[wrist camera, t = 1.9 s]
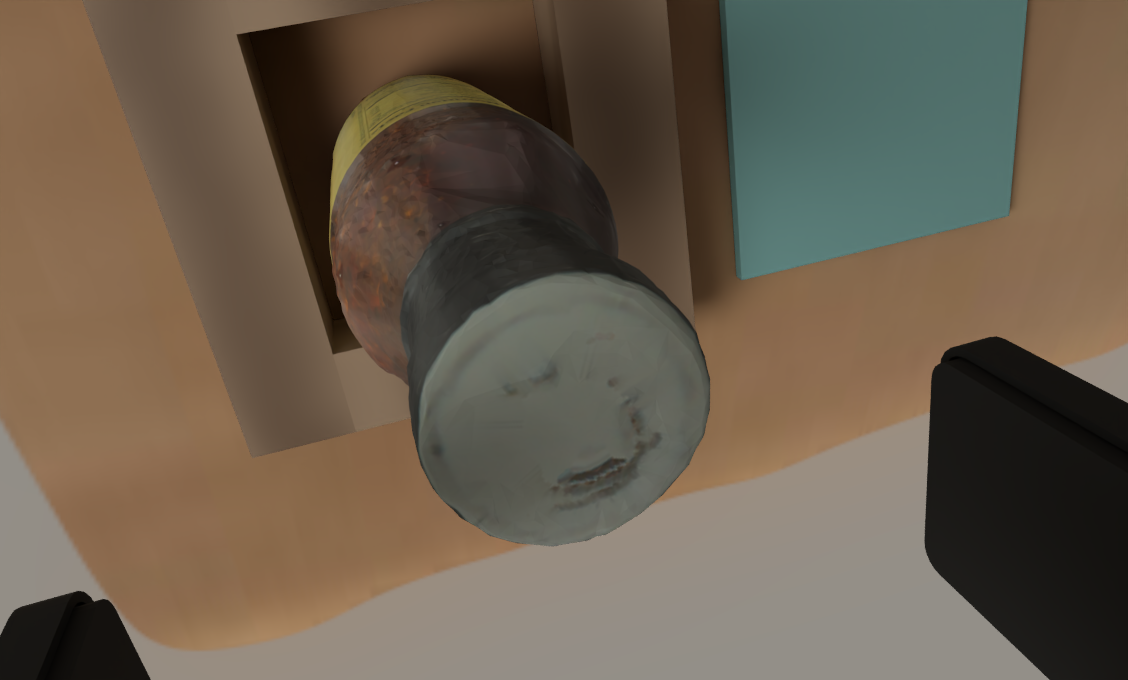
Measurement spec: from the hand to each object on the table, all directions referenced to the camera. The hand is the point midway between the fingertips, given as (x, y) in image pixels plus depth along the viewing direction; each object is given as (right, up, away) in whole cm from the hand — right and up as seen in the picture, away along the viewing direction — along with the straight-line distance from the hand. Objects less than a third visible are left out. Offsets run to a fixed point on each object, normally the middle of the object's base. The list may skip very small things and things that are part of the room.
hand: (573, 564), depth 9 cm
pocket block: (-5, +9, +19) cm, 22 cm away
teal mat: (+12, +12, +22) cm, 28 cm away
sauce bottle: (-5, +9, +19) cm, 22 cm away
